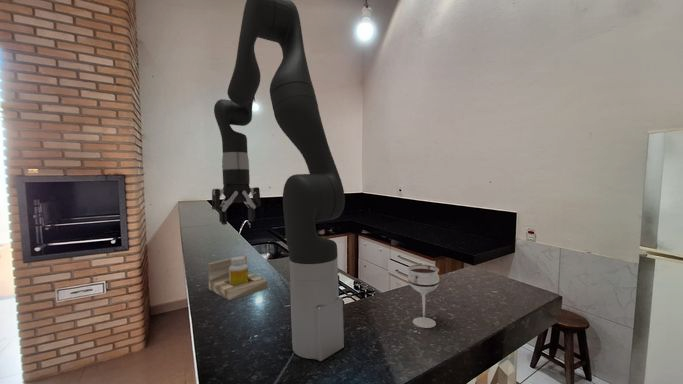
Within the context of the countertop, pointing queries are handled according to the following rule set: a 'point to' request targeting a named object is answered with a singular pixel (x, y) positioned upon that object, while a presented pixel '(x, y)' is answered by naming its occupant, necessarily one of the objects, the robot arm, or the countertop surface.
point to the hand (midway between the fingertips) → (238, 222)
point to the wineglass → (423, 288)
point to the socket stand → (220, 281)
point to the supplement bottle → (238, 271)
